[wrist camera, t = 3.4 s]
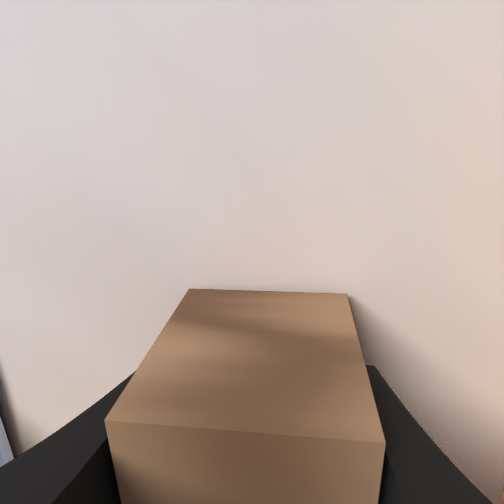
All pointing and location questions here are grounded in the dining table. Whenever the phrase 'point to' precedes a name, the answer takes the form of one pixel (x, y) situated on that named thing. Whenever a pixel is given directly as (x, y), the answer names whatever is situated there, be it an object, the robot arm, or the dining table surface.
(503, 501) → the terracotta block
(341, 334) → the walnut block
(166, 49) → the dining table surface
